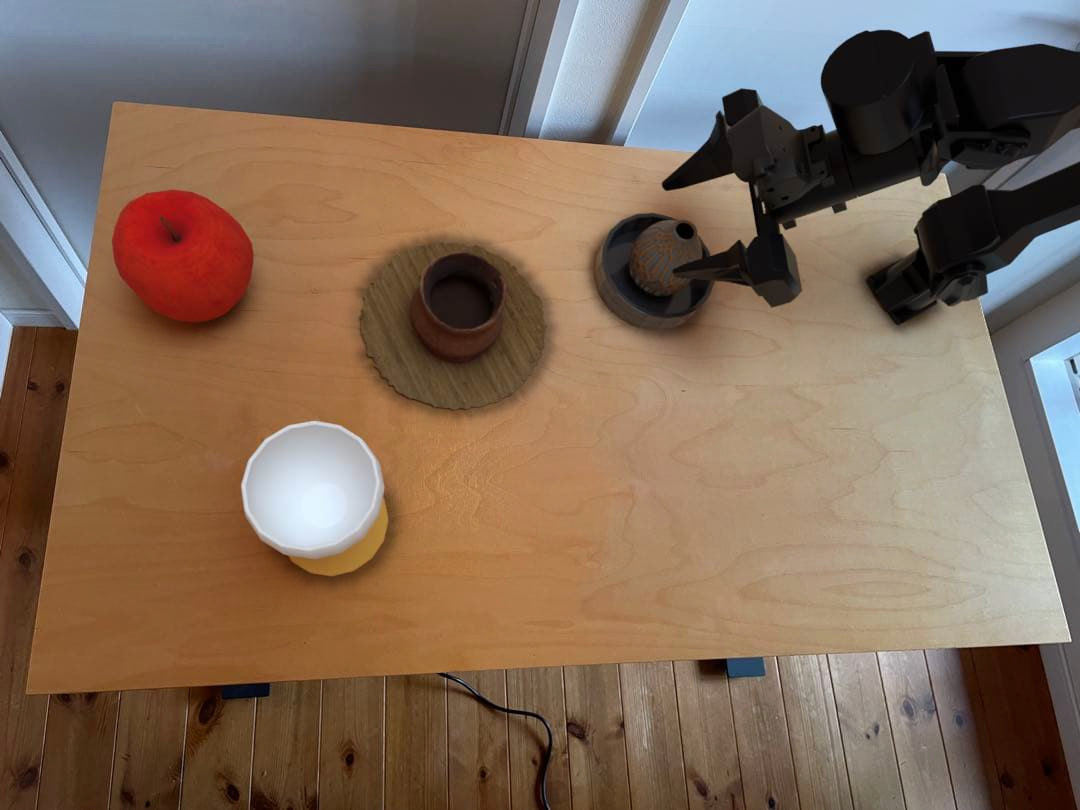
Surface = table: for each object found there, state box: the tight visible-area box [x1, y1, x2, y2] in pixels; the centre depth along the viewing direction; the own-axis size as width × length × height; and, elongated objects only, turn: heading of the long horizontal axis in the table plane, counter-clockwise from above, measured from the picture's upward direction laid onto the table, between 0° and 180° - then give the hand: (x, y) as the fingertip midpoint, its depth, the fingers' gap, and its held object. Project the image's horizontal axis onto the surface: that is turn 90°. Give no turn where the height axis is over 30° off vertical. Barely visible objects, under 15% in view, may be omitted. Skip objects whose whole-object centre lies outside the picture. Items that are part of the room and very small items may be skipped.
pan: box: [594, 212, 715, 331], centre depth 70 cm, size 12×12×3 cm
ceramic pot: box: [358, 241, 548, 411], centre depth 62 cm, size 18×18×7 cm
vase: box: [629, 219, 702, 296], centre depth 67 cm, size 7×7×9 cm
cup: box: [240, 420, 389, 577], centre depth 50 cm, size 9×9×16 cm
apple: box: [111, 189, 254, 323], centre depth 56 cm, size 10×10×12 cm
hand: (668, 229), depth 62 cm, fingers open, 9 cm apart
